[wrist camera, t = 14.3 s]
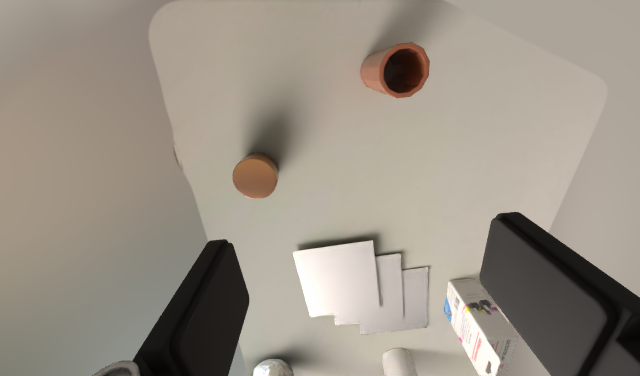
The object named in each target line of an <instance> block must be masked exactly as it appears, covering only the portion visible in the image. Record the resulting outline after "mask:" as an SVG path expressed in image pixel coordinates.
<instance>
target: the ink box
mask: <svg viewBox="0 0 640 376" xmlns="http://www.w3.org/2000/svg"><path fill="white" fill-rule="evenodd" d="M444 311H445V313H446V315H447V317H448V319H449V321H450V322H451V324H452V326H453V328H454V330H455V332H456V334H457V336H458V337H459V339H460V341H461V343H462V345H463V347H464V349H465V351H466V352H467V354H468V356H469V358H470V360H471V362H472V364H473V366H474V367H475V369H476V371H477V372H478V374H479V376H497V372H498V371H503V370H507V368H508V365H509V361H510V359H511V356H512V354H513V351H514V348H515V346H516V343H517V340H518V335H517V333H516V332H515V331H514V330H513V329H512V327H511V326H510V324H509V323H508V322H507V321H506V319H505V318H504V317H503V315H502V314H501V313H500V311H499V310H498V309H497V308H496V306H495V305H494V304H493V302H492V301H491V300H490V298H489V297H488V296H487V294H486V293H485V292H484V291H483V289H482V288H481V287H480V285H479V284H478V283H477V281H476V280H475V279H474V278H470V279H460V280H450V281H449V285H448V291H447V297H446V304H445V310H444ZM486 371H491V373H489V375H488V374H487V372H486Z"/></svg>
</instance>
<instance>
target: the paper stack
mask: <svg viewBox="0 0 640 376" xmlns="http://www.w3.org/2000/svg"><path fill="white" fill-rule="evenodd" d="M293 256H294V259H295V263H296V267H297V270H298V274H299V278H300V281H301V285H302V288H303V292H304V296H305V299H306V303H307V307H308V310H309V314H310V317H317V316H325V315H334V319H335V324H336V326H338V325H347V324H355V323H359V324H360V331H361V335H368V334H376V333H385V332H393V331H402V330H410V329H419V328H427V291H428V267H424V268H416V269H409V270H401V255H400V253H398V254H391V255H384V256H377V257H375V256H374V246H373V240H370V241H363V242H356V243H349V244H342V245H335V246H328V247H321V248H314V249H307V250H300V251H293Z"/></svg>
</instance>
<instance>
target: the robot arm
mask: <svg viewBox="0 0 640 376" xmlns="http://www.w3.org/2000/svg"><path fill="white" fill-rule="evenodd" d="M480 281H481V284H482V285H483V287H484V288H485V290H486V291H487V292H488V294H489V295H490V296H491V297H492V299H493V300H494V301H495V303H496V304H497V305H498V307H499V308H500V309H501V311H502V312H503V313H504V314H505V316H506V317H507V318H508V320H509V321H510V322H511V324H512V325H513V326H514V328H515V329H516V330H517V331H518V333H519V334H520V335H521V337H522V338H523V339H524V341H525V342H526V343H527V345H528V346H529V347H530V349H531V350H532V351H533V353H534V354H535V355H536V356H537V358H538V359H539V360H540V362H541V363H542V364H543V366H544V367H545V368H546V369H547V371H548V372H549V373H550V375H551V376H640V297H638V296H637V295H635V294H634V293H632V292H631V291H629V290H628V289H627V288H625V287H624V286H622V285H621V284H620V283H618V282H617V281H615V280H614V279H613V278H611V277H610V276H608V275H607V274H605V273H604V272H602V271H601V270H600V269H598V268H597V267H596V266H594V265H593V264H591V263H590V262H589V261H587V260H586V259H584V258H583V257H581V256H580V255H579V254H577V253H576V252H574V251H573V250H572V249H570V248H569V247H567V246H566V245H565V244H563V243H562V242H560V241H559V240H558V239H556V238H555V237H553V236H552V235H550V234H549V233H548V232H546V231H545V230H543V229H542V228H541V227H539V226H538V225H536V224H535V223H534V222H532V221H531V220H529V219H528V218H526V217H525V216H524V215H522V214H521V213H519V212H511V213H500V214H498V215H497V216H496V218H494V219H493V220H492V221H491V225H490V230H489V235H488V239H487V244H486V249H485V253H484V258H483V263H482V267H481V272H480ZM248 306H249V294H248V291H247V288H246V284H245V281H244V278H243V275H242V272H241V269H240V265H239V262H238V259H237V256H236V253H235V250H234V246H233V244H232V243H228V241H227V240H225V239H223V240H213V241H209V242H208V243H207V244H206V246H205V248H204V249H203V251H202V252H201V254H200V255H199V257H198V259H197V260H196V262H195V263H194V265H193V266H192V268H191V270H190V271H189V273H188V274H187V276H186V277H185V279H184V280H183V282H182V284H181V285H180V287H179V288H178V290H177V291H176V293H175V295H174V296H173V298H172V299H171V301H170V302H169V304H168V306H167V307H166V309H165V310H164V312H163V313H162V315H161V316H160V318H159V320H158V321H157V323H156V324H155V326H154V327H153V329H152V330H151V332H150V334H149V335H148V337H147V338H146V340H145V341H144V343H143V345H142V346H141V348H140V349H139V351H138V353H137V354H136V356H135V358H134V359H133V361H119V362H116V363H112V364H110V365H108V366H107V367H105V368H103V369H101V370H100V371H98V372H97V373H95V374H94V375H92V376H228V374H229V370H230V367H231V364H232V360H233V357H234V353H235V350H236V347H237V343H238V340H239V336H240V333H241V330H242V326H243V323H244V320H245V316H246V313H247V309H248Z"/></svg>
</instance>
